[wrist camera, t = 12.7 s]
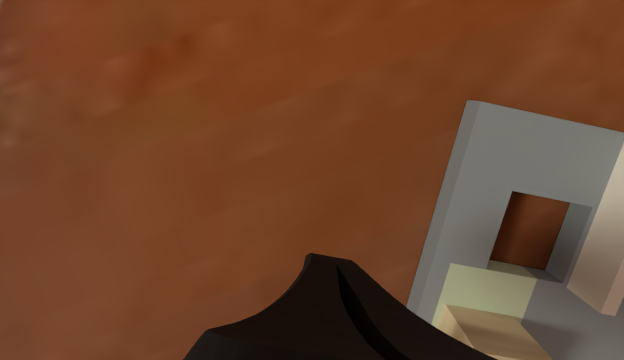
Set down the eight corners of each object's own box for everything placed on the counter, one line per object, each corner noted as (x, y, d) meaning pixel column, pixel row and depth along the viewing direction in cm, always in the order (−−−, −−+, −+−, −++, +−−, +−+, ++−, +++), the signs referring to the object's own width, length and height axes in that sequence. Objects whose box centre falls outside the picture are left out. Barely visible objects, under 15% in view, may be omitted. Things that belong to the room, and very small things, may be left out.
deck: (644, 392, 25) (666, 412, 24) (393, 351, 24) (399, 369, 23) (754, 162, 22) (788, 168, 20) (467, 100, 21) (480, 101, 19)
